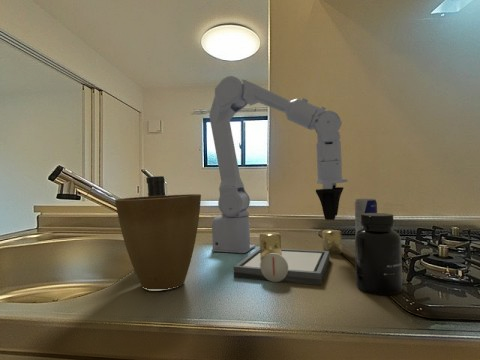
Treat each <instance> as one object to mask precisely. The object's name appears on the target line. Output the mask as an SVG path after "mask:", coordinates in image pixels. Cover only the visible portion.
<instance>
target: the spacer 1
mask: <svg viewBox="0 0 480 360" xmlns="http://www.w3.org/2000/svg"><path fill="white" fill-rule="evenodd" d="M259 248H260V259H261V260H262V259H263V258H264V257H265V256H266V255H267V254H270V253H277V254H279V255H281V256H282V251H281V249H282V234H281V233H280V232H273V231H271V232H270V231H269V232H262V233H259Z"/></svg>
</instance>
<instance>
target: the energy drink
mask: <svg viewBox="0 0 480 360" xmlns="http://www.w3.org/2000/svg"><path fill="white" fill-rule="evenodd" d="M364 213H378V201H377V199H375V198H356V199H355V201H354V219H355V220H354V222H355V234H356V233H357V232H358V231H359V230H361V229H362V225H361V224H360V222H361V214H364Z"/></svg>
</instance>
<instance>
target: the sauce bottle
mask: <svg viewBox="0 0 480 360" xmlns="http://www.w3.org/2000/svg"><path fill="white" fill-rule="evenodd" d="M145 181H146V184H147V197H148V196H165V195H166V192H165V176H164V175H163V176H162V175H160V176H157V175H156V176H147V177H146V180H145Z"/></svg>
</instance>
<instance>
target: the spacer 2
mask: <svg viewBox="0 0 480 360" xmlns="http://www.w3.org/2000/svg"><path fill="white" fill-rule="evenodd" d="M321 236H322V251H329V255H340V254H342V253H343V241H342V240H343V239H342V231H341V230H337V229H325V230H324V229H323V230H322V234H321Z"/></svg>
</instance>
